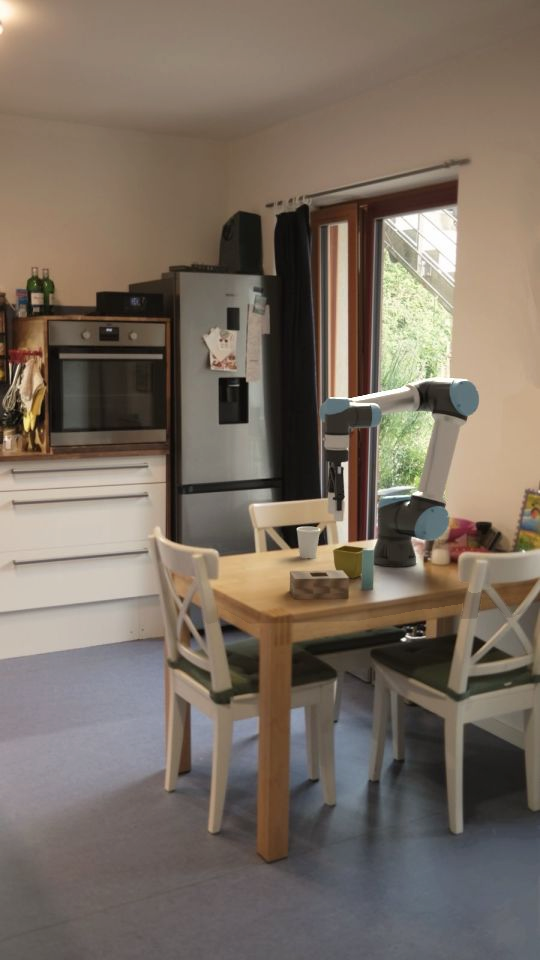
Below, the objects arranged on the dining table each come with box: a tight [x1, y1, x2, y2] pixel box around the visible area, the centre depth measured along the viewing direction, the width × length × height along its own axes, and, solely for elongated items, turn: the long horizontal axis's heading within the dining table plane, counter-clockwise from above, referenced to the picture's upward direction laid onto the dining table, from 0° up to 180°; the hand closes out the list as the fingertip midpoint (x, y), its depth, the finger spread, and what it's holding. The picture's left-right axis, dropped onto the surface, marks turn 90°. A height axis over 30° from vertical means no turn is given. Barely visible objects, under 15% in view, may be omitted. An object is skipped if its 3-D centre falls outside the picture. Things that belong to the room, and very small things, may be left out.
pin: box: [360, 548, 375, 591], centre depth 297 cm, size 4×4×12 cm
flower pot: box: [332, 544, 368, 579], centre depth 313 cm, size 9×9×9 cm
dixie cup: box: [296, 526, 321, 559], centre depth 342 cm, size 8×8×10 cm
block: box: [289, 569, 350, 600], centre depth 290 cm, size 16×10×6 cm, turn 97°
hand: (335, 517), depth 300 cm, fingers open, 13 cm apart
